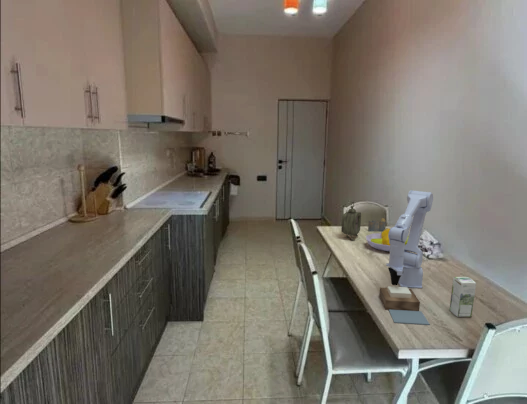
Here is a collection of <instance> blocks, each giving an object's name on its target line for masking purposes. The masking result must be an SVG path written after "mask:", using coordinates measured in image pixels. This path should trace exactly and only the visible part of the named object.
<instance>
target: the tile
mask: <svg viewBox="0 0 527 404" xmlns="http://www.w3.org/2000/svg"><path fill="white" fill-rule="evenodd" d="M387 288H388V289H387V291H388V293H389V295H390V297H395V298H411V292H410V291H409V289H410V288H409V287H401V286H391V285H390V286H387Z"/></svg>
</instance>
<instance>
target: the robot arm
mask: <svg viewBox="0 0 527 404" xmlns="http://www.w3.org/2000/svg"><path fill="white" fill-rule="evenodd" d="M406 200H407V206H406V208H405V210H404V213H402V214H400V216H399V217H398V219H397V221H396V223H395V224H394V226H393V227H390V228H389V229H390V230H389V234H388V237H389V244H390V252H389V259H388V263H385V266H386V267H387V269H388V271H389V274H390V282H391V284H392V286H398V285H399V287H408V288H411V289H412V288H413V289H414V288H415V289H423V279H424V278H423V276H424V271H423V268H422V264H423V260H424V259H423V257H424V252H423V251H422V249H420V247H419V244H420V239H421V236H422V230H423V227H424V222H425V217H426V215H427V212H431V209H432V206H433V202H434V193H433V192H431V191H421V190H413V189H410V190H409V191H408V192H407V196H406ZM408 236H409V237H408ZM407 238H408V241H407V244H406V245H405V242H406V240H407Z"/></svg>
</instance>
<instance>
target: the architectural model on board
mask: <svg viewBox="0 0 527 404" xmlns="http://www.w3.org/2000/svg"><path fill="white" fill-rule="evenodd" d="M386 224H387V223H386V219H385V217H384V218H383V217H382V218H381V220H371V221H370V220H368V226H367V227H368V229H367V231H368V232H383V231H384V230H385V229H386Z"/></svg>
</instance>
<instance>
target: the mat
mask: <svg viewBox="0 0 527 404" xmlns="http://www.w3.org/2000/svg"><path fill="white" fill-rule="evenodd" d="M388 313H389V315H390V316H391V318H392V320H393V323H394V324H402V325H403V324H405V325H406V324H407V325H424V326H430V322H429V321H428V319H427V318H426V316H425V314H424V313H423V311H421V310H419V311H407V310H388Z"/></svg>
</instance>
